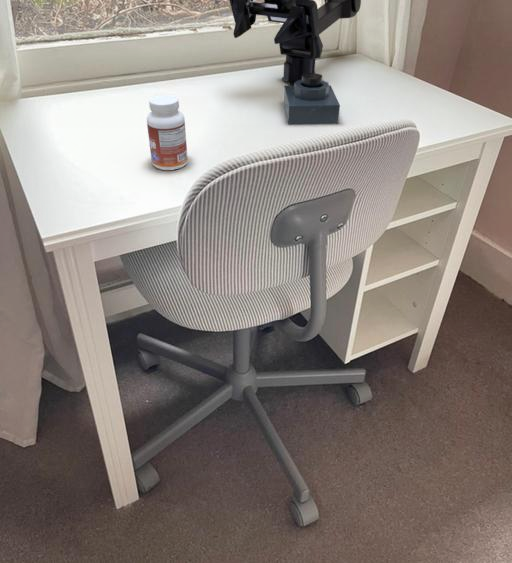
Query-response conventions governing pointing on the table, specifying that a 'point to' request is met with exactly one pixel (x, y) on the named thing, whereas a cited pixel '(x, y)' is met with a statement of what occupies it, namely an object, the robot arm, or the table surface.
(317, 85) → the black round button
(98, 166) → the table surface
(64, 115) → the table surface
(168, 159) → the pill bottle
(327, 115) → the push button box
